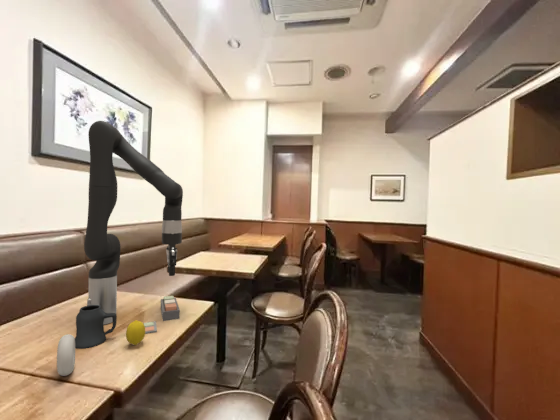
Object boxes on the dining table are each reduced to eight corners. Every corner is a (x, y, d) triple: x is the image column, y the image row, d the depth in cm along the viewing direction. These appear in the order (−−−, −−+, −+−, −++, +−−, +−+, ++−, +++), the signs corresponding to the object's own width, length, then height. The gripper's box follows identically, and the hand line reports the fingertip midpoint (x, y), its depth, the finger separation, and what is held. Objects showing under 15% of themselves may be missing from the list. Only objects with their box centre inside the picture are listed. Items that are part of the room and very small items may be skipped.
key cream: (164, 309, 116) (164, 303, 116) (164, 306, 120) (164, 300, 120) (175, 307, 118) (175, 302, 118) (174, 304, 122) (174, 299, 122)
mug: (67, 350, 87) (68, 313, 87) (78, 337, 95) (79, 304, 95) (112, 345, 90) (113, 310, 90) (118, 333, 99) (119, 301, 99)
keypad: (162, 321, 110) (162, 312, 110) (160, 307, 125) (160, 299, 125) (179, 318, 113) (179, 310, 113) (175, 305, 128) (175, 297, 128)
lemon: (137, 350, 88) (137, 324, 87) (121, 348, 89) (122, 322, 89) (148, 342, 93) (149, 317, 93) (134, 340, 94) (134, 316, 94)
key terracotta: (165, 313, 111) (165, 307, 111) (165, 310, 115) (165, 304, 115) (176, 312, 113) (176, 306, 113) (175, 309, 117) (175, 303, 117)
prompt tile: (141, 334, 98) (141, 332, 98) (141, 324, 106) (141, 322, 106) (156, 332, 100) (156, 329, 100) (156, 322, 108) (156, 320, 108)
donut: (60, 366, 78) (60, 330, 78) (75, 362, 80) (76, 327, 80) (55, 385, 70) (55, 345, 70) (72, 381, 72) (73, 342, 71)
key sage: (164, 305, 121) (164, 299, 121) (163, 302, 125) (163, 296, 125) (174, 303, 123) (174, 298, 123) (173, 301, 126) (173, 295, 126)
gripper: (160, 230, 119) (160, 271, 119) (162, 233, 106) (162, 279, 106) (179, 230, 122) (179, 269, 122) (184, 233, 109) (183, 277, 109)
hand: (171, 273), depth 114 cm, fingers open, 5 cm apart
